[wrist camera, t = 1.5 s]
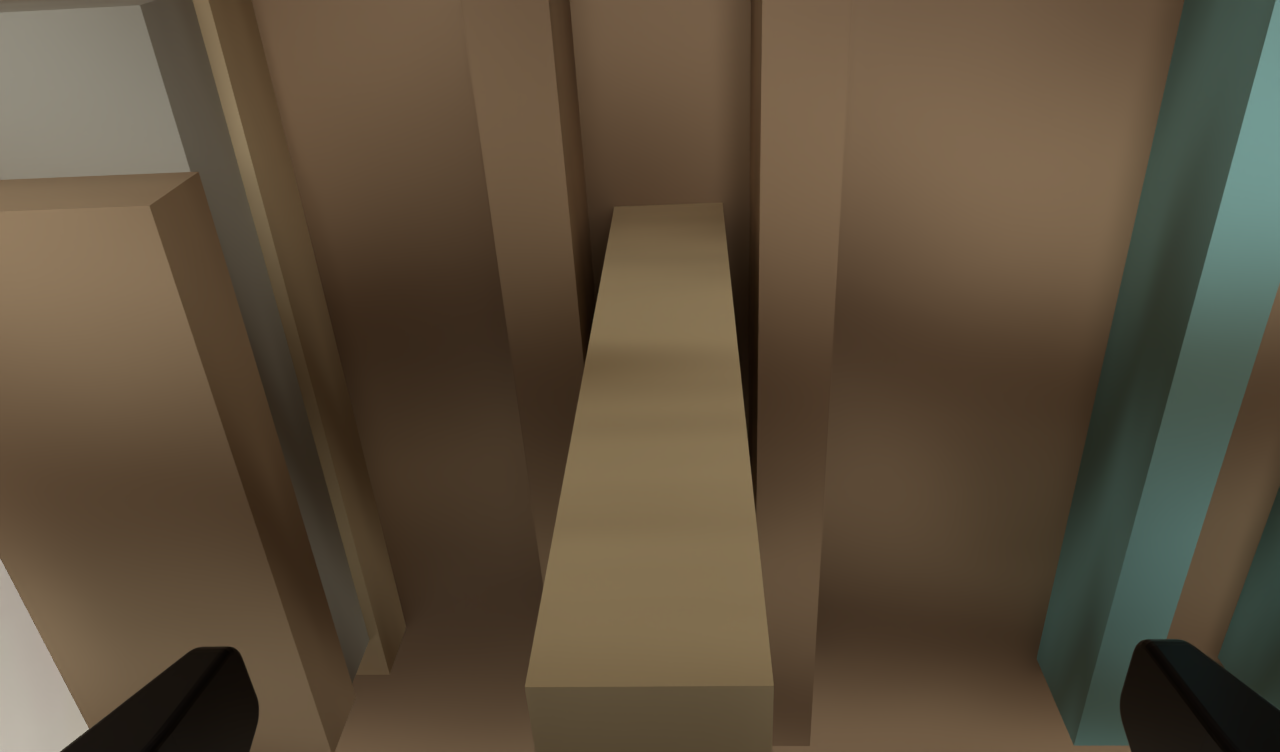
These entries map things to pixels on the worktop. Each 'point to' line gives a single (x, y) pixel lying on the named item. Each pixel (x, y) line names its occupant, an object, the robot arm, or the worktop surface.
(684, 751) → the tan rectangular block
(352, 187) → the rack
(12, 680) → the worktop surface
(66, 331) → the offcut stack
